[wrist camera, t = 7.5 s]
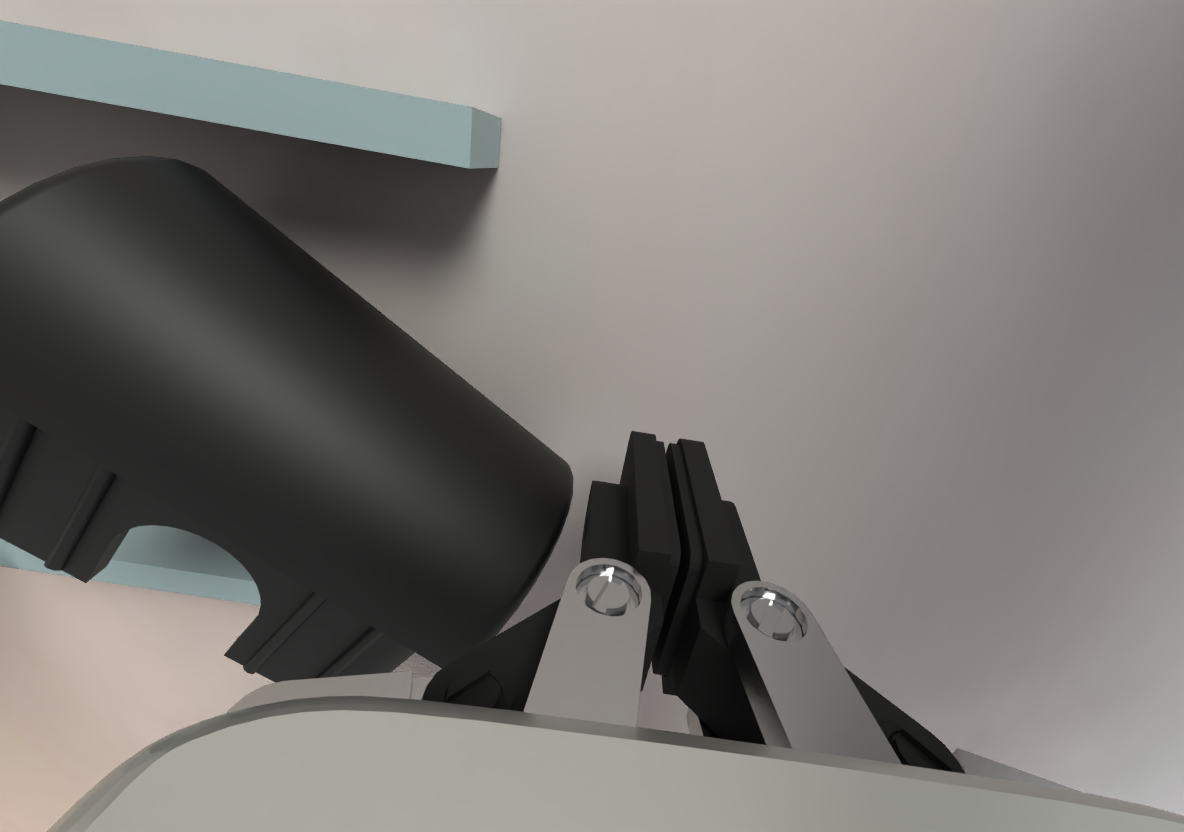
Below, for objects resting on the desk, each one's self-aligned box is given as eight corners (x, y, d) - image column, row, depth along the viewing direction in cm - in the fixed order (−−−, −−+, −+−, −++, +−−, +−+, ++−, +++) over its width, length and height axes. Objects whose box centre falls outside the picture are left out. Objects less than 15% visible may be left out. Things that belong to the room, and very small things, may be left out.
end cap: (588, 417, 14) (565, 598, 8) (447, 548, 17) (353, 759, 11) (277, 151, 12) (-89, 139, 6) (164, 356, 14) (-169, 498, 8)
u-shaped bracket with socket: (-407, -48, 11) (-1793, -335, 4) (501, 118, 11) (361, 63, 5) (-97, 486, 17) (-496, 665, 11) (471, 574, 18) (393, 791, 11)
